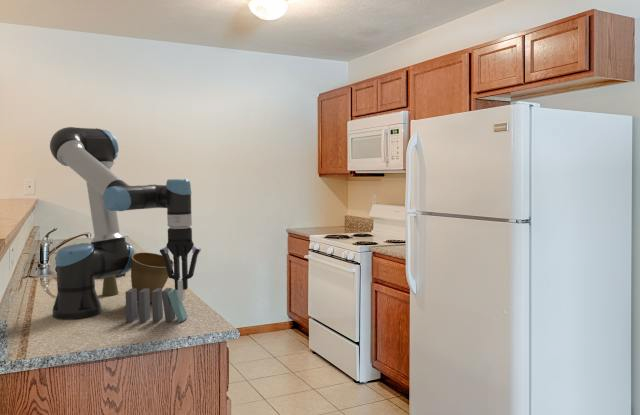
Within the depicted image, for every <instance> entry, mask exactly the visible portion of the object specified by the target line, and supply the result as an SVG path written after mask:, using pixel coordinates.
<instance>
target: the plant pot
mask: <svg viewBox="0 0 640 415" xmlns="http://www.w3.org/2000/svg"><path fill="white" fill-rule="evenodd" d="M170 261H171V264H172V268H174V260H172V259H171V258H170ZM130 277H131V278H130V279H131V280H130V281H131V289H137V303H139V291H141V290H142V289H144V288H149V293H150V305H152V291H154V290H155V289H156V288H162V290H163V289H164V287H165V285H166V282H167V281H168V279H169V277H168V273H167V269H166V266H165V262H164V258H163V256H162V254H159V253H155V252H136V253H135V252H134V254H133V255H132V259H131V269H130Z"/></svg>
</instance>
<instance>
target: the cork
mask: <svg viewBox="0 0 640 415" xmlns="http://www.w3.org/2000/svg"><path fill="white" fill-rule="evenodd" d="M102 283H103V284H102V293H101V295H102V296H103V297H113V296H118V295H119V289H118V284H117V278H116V277H115V276H111V277H106V278H103V282H102Z"/></svg>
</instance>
